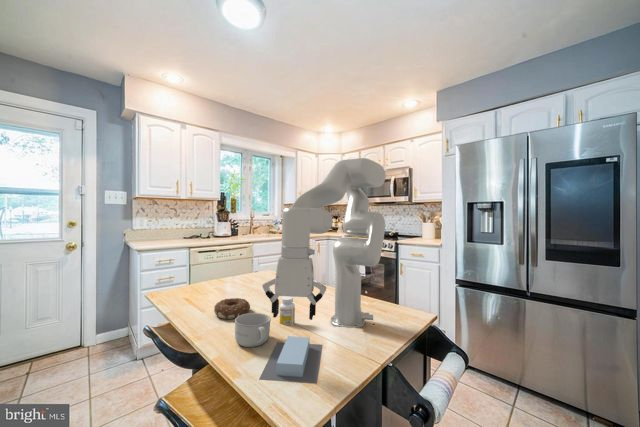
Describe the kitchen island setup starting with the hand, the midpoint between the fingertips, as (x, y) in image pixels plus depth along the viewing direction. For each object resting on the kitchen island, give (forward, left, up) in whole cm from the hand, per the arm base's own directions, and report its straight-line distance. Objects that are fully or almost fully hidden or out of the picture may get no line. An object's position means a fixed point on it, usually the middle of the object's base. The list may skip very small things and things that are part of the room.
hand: (293, 316), depth 71 cm
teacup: (+14, -9, -13) cm, 21 cm away
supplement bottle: (+7, -25, -13) cm, 29 cm away
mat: (0, -1, -13) cm, 13 cm away
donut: (+30, -32, -14) cm, 46 cm away
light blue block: (0, -1, -12) cm, 12 cm away
